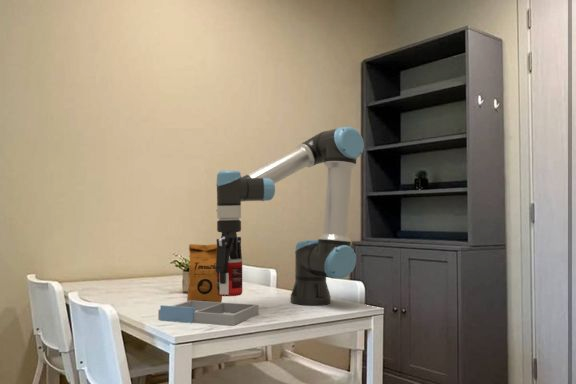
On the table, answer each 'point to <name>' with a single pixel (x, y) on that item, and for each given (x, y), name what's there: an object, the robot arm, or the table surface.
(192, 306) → the grey shallow tray
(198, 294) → the coffee package
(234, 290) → the canned food
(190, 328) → the table surface
